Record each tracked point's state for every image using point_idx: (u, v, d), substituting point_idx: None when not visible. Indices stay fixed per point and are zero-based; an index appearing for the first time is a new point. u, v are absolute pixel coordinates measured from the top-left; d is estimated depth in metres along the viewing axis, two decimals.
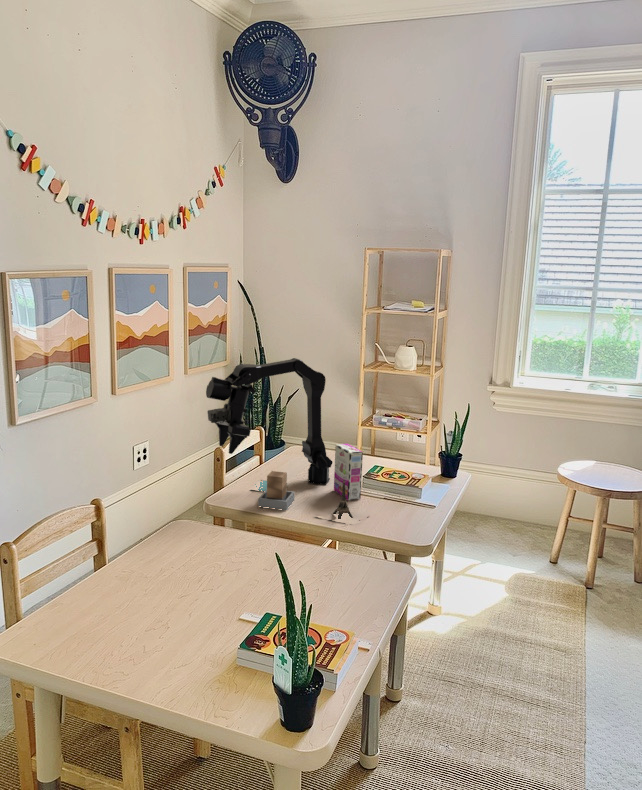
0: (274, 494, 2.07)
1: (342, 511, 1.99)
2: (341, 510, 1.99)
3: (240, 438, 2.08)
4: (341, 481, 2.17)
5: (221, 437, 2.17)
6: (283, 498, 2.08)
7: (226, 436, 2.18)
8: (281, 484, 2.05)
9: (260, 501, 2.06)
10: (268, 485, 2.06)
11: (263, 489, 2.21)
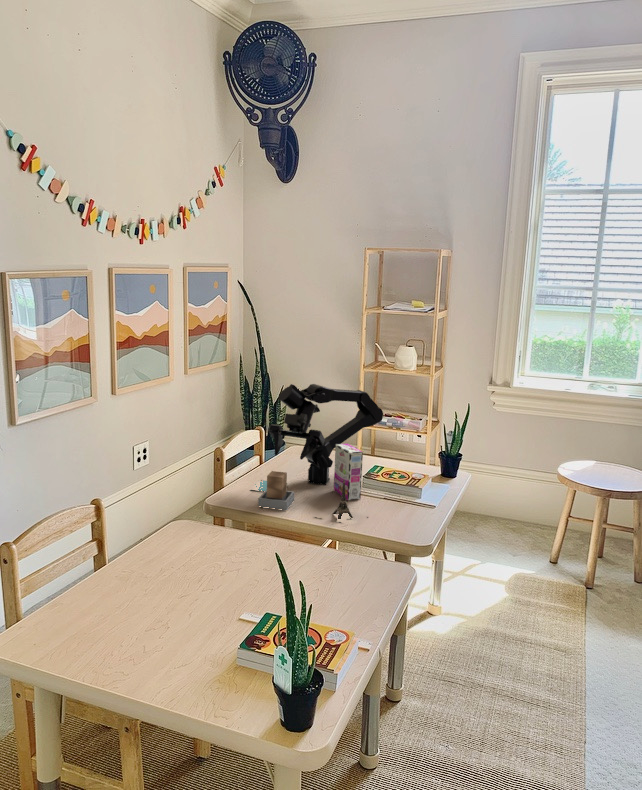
0: (274, 494, 2.07)
1: (342, 511, 1.99)
2: (341, 510, 1.99)
3: (312, 446, 2.16)
4: (341, 481, 2.17)
5: (277, 446, 2.17)
6: (283, 498, 2.08)
7: (279, 447, 2.19)
8: (281, 484, 2.05)
9: (260, 501, 2.06)
10: (268, 485, 2.06)
11: (263, 489, 2.21)
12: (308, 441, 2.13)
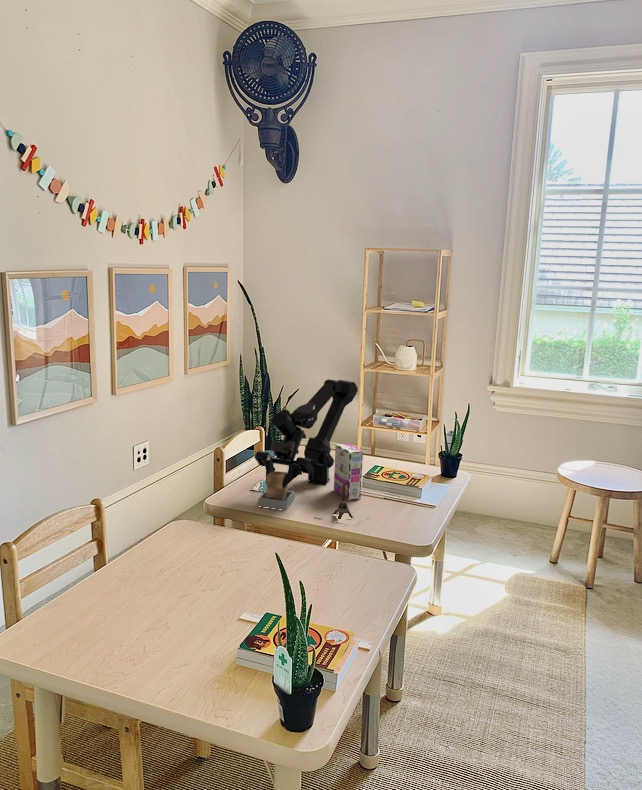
0: (274, 494, 2.07)
1: (342, 512, 1.99)
2: (341, 511, 1.99)
3: (295, 474, 2.09)
4: (341, 481, 2.17)
5: None
6: (283, 498, 2.08)
7: None
8: (281, 484, 2.05)
9: (260, 501, 2.06)
10: (268, 485, 2.06)
11: (263, 489, 2.21)
12: (291, 469, 2.07)
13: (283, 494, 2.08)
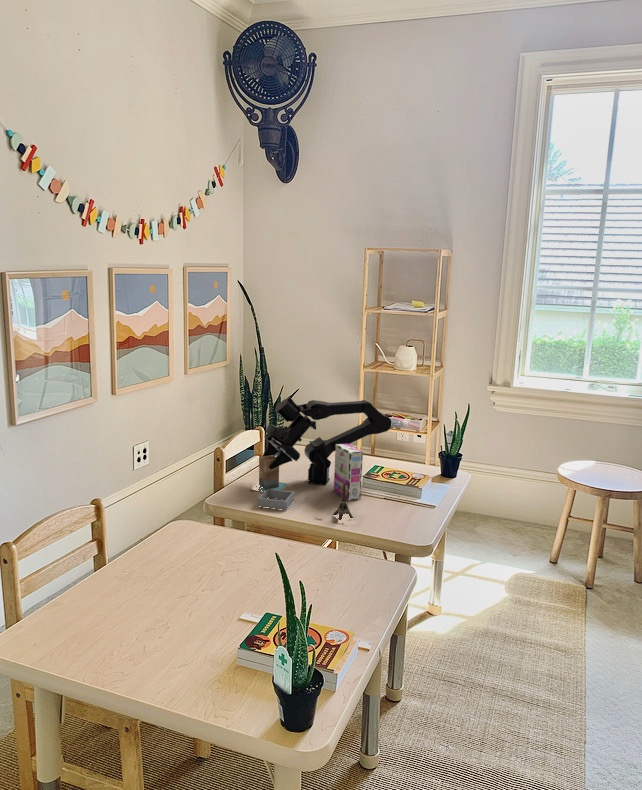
0: (262, 475, 2.22)
1: (343, 512, 1.99)
2: (342, 511, 1.99)
3: (285, 459, 2.19)
4: (341, 481, 2.17)
5: (265, 454, 2.26)
6: (270, 481, 2.22)
7: None
8: (265, 467, 2.20)
9: (260, 501, 2.06)
10: (259, 466, 2.24)
11: (263, 489, 2.21)
12: (279, 453, 2.18)
13: (270, 478, 2.21)
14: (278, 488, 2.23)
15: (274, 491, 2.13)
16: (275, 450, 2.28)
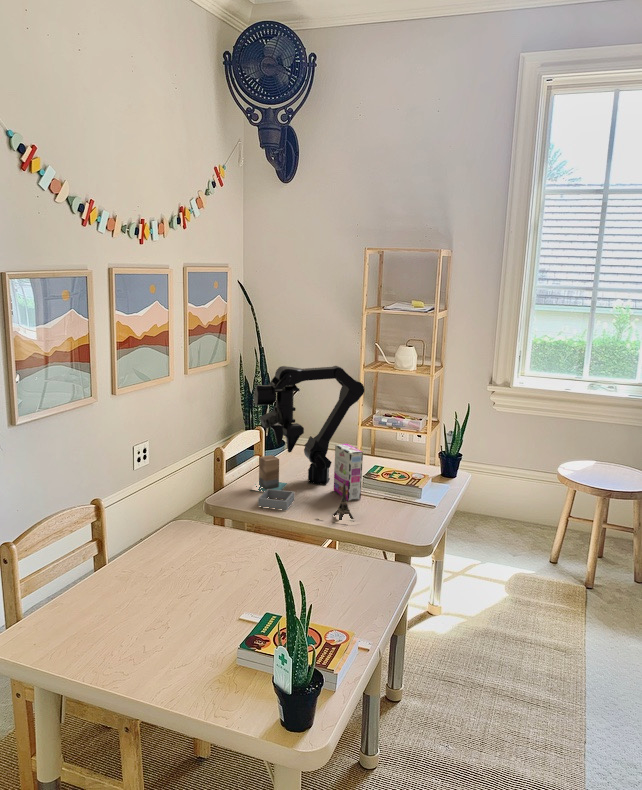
0: (262, 475, 2.22)
1: (343, 512, 1.99)
2: (342, 511, 1.98)
3: (295, 436, 2.19)
4: (341, 481, 2.17)
5: (277, 437, 2.28)
6: (270, 481, 2.22)
7: (281, 435, 2.29)
8: (265, 467, 2.20)
9: (260, 501, 2.06)
10: (259, 466, 2.24)
11: (263, 489, 2.21)
12: (286, 437, 2.18)
13: (270, 478, 2.21)
14: (278, 488, 2.23)
15: (274, 491, 2.13)
16: (282, 427, 2.29)
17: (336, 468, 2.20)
